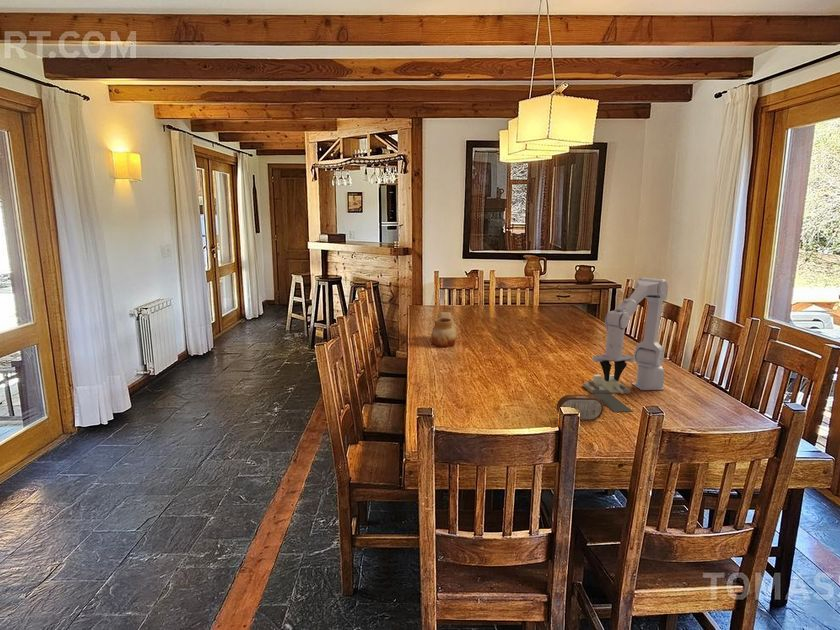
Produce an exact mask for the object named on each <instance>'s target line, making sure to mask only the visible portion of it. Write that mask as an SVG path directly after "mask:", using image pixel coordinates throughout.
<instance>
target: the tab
mask: <svg viewBox="0 0 840 630" xmlns="http://www.w3.org/2000/svg"><path fill="white" fill-rule="evenodd" d="M602 376H603V375H601V374H593V375H592V380H591V381H592V382H593V383H595V384H596V385H602V383H601V382H602Z"/></svg>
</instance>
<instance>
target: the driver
mask: <svg viewBox="0 0 840 630" xmlns="http://www.w3.org/2000/svg"><path fill="white" fill-rule="evenodd" d="M601 376H602V386H603V387H605V388H606V389H607V390H609V391H610V392H620V393H619V394H625V393H624V392H623V391H622V390H621V389H620V383H621V382H620V381H617V380H615V379H614V378H612V377H611V376H609V381H605V379H604V375H601Z"/></svg>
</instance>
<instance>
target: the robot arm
mask: <svg viewBox="0 0 840 630" xmlns="http://www.w3.org/2000/svg"><path fill="white" fill-rule="evenodd" d="M668 291H669V284H668V281H667V280H666V279H664V278H662V279H660V278H651V277H649V278H648V277H644V276H641V277H639V278H638V279H637V281H636V283H635V289H634V291H633V292H632V293H631V295H630V296H629V297H628V298H624V299H623V300H622V301H621V302H620V303H619V304H618V306H617V307H616V308H615V309H614V310H611V311H608V312H607V313H606V315H605V318H604V324H605V331H606V341H605V344H606V345H605V352H604V354H599V355H592V362H594V363H598V362H599V363H600V367H601V369H602V372H603V373H602V374H603V376H604V379H605V381H609V376H610V373H611V369H612V364H611V362H613V364H614V366H613V367H614V372H613V374H614V379H615V380H617V381H618V382H620V380H619V379H620V377H621V375H622V373H623V371H624V370H625V368H626V367H627V366H628V363H627V362H630V363H634V361H635V363H636V365H637V371H636V372H637V373H636V382H631V384H632V385H633V386H635V388H638V389H639V390H641V391H652V390H654V391H658V390H659V391H661V390H665V388H664V381H665V370H664V369H665V368H663V366H662V365H663V363H664V361H665V355H664V351H665V350H664V347H663V346H662V345H661V344H660V343H659V342H658V339H659V332H660V324H661V318H662V317H661V316H662V309H663V302H664V301H666V300H667V297H668ZM644 299H645V300H646V301H647V302H648V303H647V312H646V318H645V326H644V332H643V340H642V341H640V342H638V343H637V344H636V346H635V350H634V352H633V355H626V354H623V350H624V340H625V329H626V328H627V327H628V326H629V322H630V321H631V317H632V316H633V314H634V313H635V312H636V311H637V310H638V304H639V303H641V301H643V300H644Z"/></svg>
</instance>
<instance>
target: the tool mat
mask: <svg viewBox="0 0 840 630" xmlns="http://www.w3.org/2000/svg"><path fill="white" fill-rule="evenodd" d="M592 395H594V396H596V397H597V398H599V400H600V401H601V402H602V404H603V405H604V406H606V407H607V408H608V409H609V410H610V411H612V412H613V413H633V412H634V411H633V409H631V408H630V407H628V406H627V405H626V404H625V403H623V402H622V401H621V400H619V399H618V398H616V397H615V396H614V395H613V394H612V393H608V394H592Z"/></svg>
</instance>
